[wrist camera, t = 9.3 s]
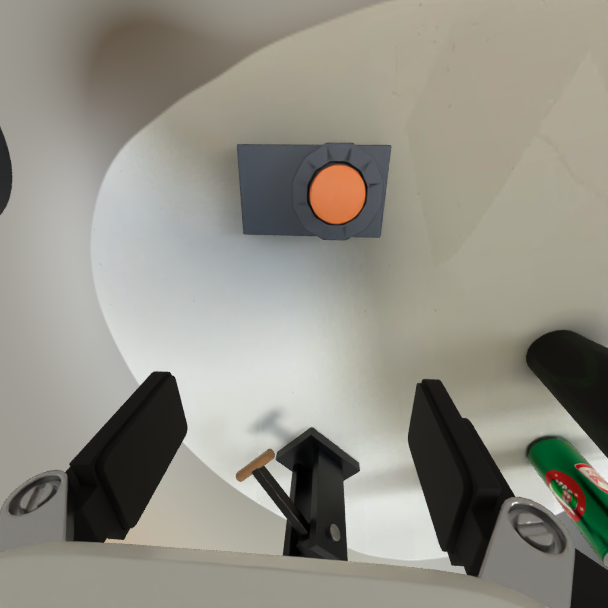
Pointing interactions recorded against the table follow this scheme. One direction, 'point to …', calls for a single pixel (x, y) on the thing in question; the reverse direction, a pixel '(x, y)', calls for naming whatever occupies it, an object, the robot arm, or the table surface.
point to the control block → (308, 188)
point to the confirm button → (337, 194)
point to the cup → (575, 379)
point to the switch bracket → (318, 493)
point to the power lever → (280, 500)
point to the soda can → (575, 489)
